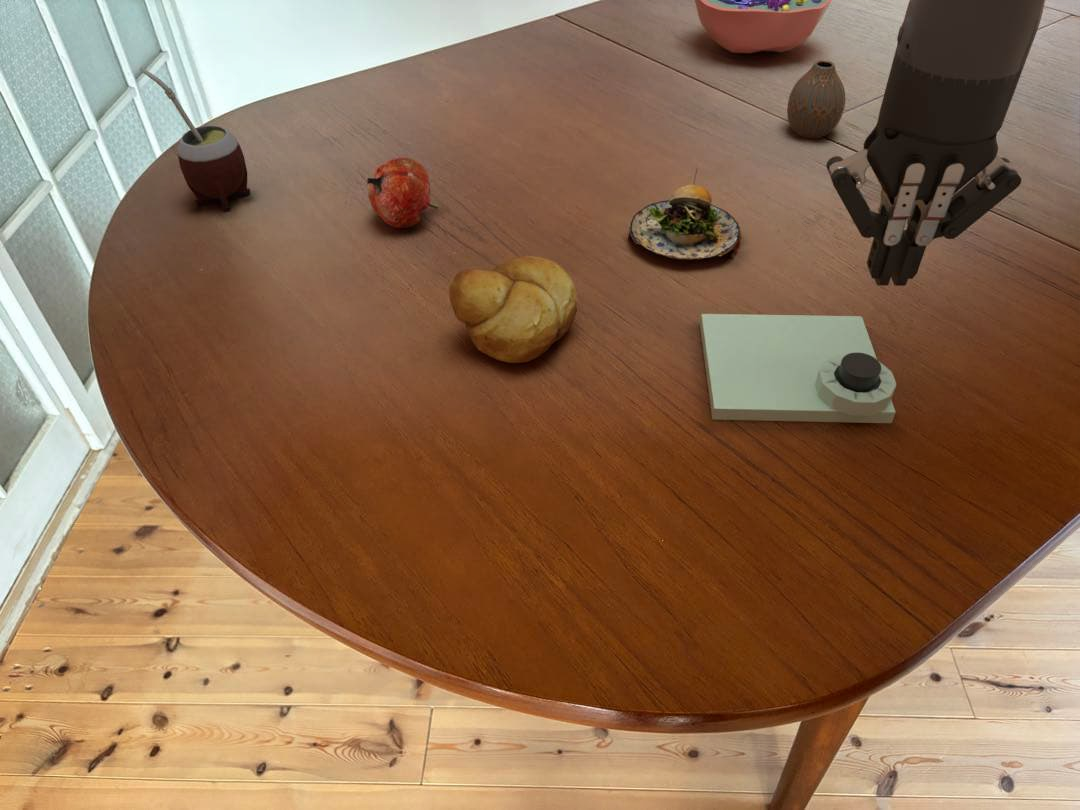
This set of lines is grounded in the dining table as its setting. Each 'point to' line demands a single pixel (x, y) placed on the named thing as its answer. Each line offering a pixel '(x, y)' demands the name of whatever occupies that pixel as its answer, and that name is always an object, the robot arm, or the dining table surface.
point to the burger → (686, 226)
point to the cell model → (760, 23)
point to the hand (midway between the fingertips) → (888, 279)
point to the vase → (816, 101)
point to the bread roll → (515, 307)
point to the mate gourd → (209, 159)
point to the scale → (789, 369)
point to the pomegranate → (400, 192)
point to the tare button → (859, 372)
